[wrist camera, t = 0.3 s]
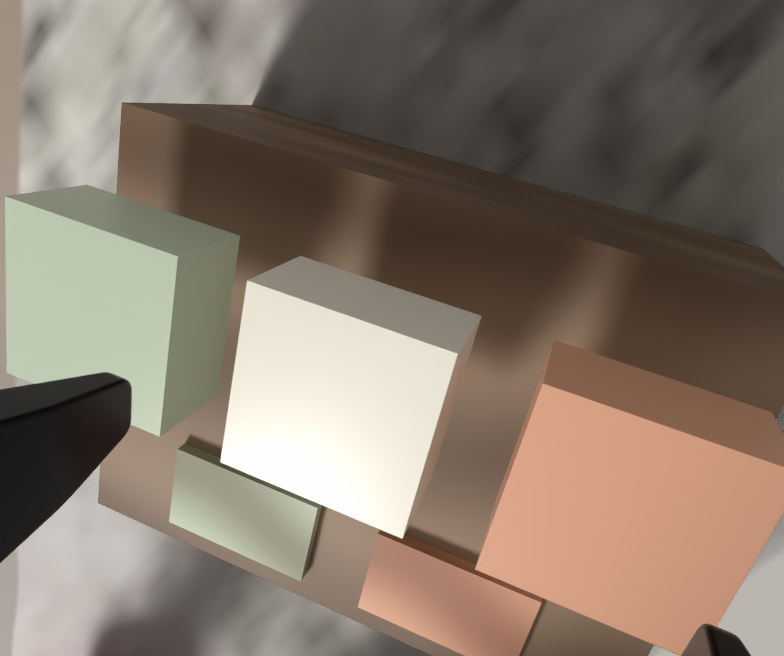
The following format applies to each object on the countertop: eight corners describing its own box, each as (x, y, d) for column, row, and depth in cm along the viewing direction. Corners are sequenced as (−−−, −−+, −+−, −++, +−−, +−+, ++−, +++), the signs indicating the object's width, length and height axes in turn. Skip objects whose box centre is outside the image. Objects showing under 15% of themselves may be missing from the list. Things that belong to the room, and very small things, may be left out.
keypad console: (606, 579, 25) (604, 746, 19) (208, 418, 29) (90, 508, 22) (763, 249, 20) (839, 317, 13) (251, 105, 24) (111, 102, 17)
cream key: (431, 479, 15) (402, 539, 13) (271, 416, 16) (220, 461, 14) (481, 315, 14) (458, 353, 12) (300, 255, 15) (247, 280, 12)
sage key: (218, 394, 17) (159, 436, 15) (80, 340, 18) (6, 372, 15) (240, 235, 15) (178, 256, 13) (87, 184, 16) (5, 196, 14)
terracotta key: (682, 578, 14) (695, 662, 12) (494, 504, 15) (474, 569, 13) (771, 412, 12) (806, 475, 10) (553, 339, 13) (542, 383, 11)
